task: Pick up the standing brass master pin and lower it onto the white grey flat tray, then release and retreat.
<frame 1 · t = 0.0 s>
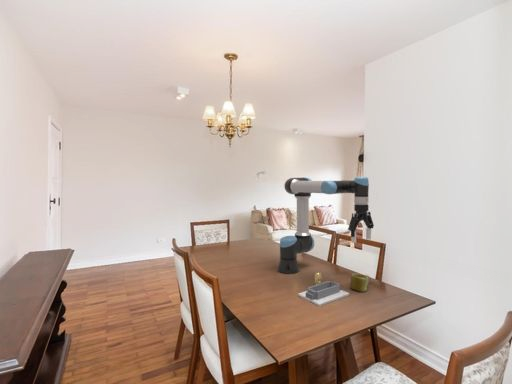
hand: (361, 240, 160), 28 cm above the table, fingers open, 13 cm apart
mug: (361, 289, 161), on the table
master pin: (318, 286, 166), on the table
white grey flat tray: (323, 295, 153), on the table
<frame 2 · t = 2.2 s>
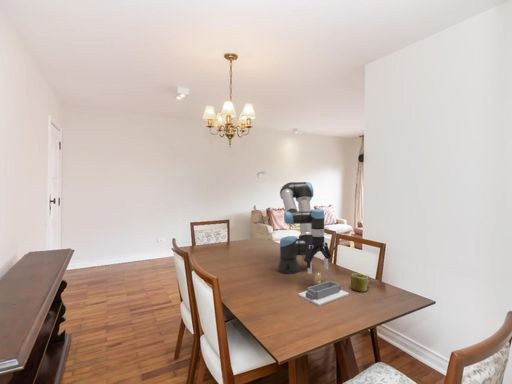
hand: (318, 271, 165), 9 cm above the table, fingers open, 13 cm apart
nothing on the table moved.
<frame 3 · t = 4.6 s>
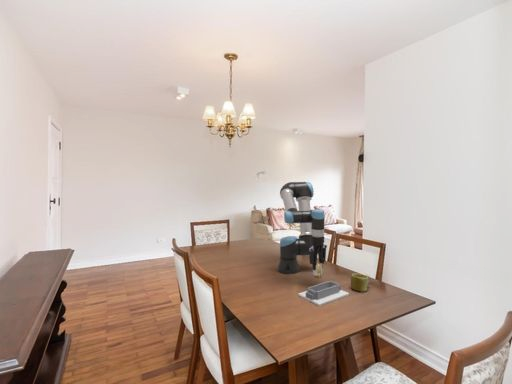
hand: (317, 274, 166), 7 cm above the table, fingers closed on master pin, 3 cm apart
master pin: (317, 276, 166), point 5 cm above the table, touching gripper
everything else where it was.
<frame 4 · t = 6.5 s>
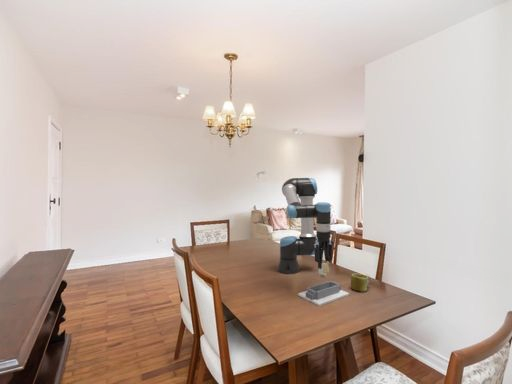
hand: (323, 273, 152), 12 cm above the table, fingers closed on master pin, 3 cm apart
master pin: (324, 276, 152), point 11 cm above the table, touching gripper
everything else where it was.
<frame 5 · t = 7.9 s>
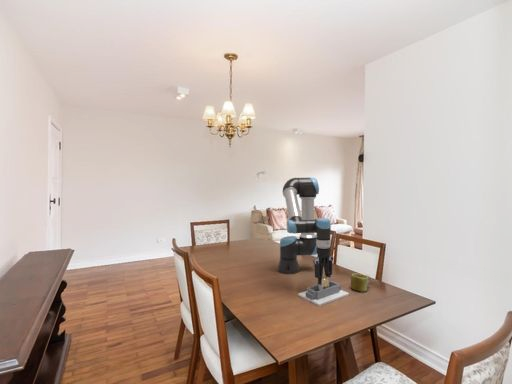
hand: (323, 289, 153), 3 cm above the table, fingers closed on master pin, 3 cm apart
master pin: (323, 292, 153), point 2 cm above the table, touching gripper
everything else where it was.
when the fingers open (2 cm above the table, at t = 8.4 s): master pin stays where it is, resting on white grey flat tray.
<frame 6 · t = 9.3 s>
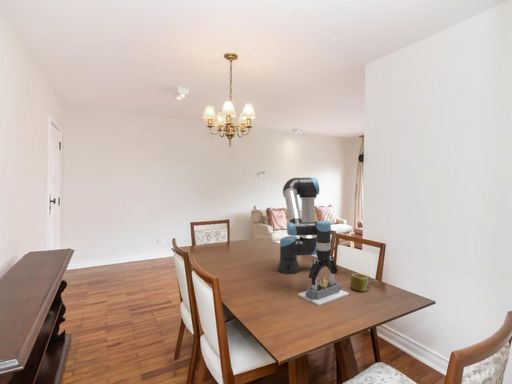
hand: (323, 287, 153), 4 cm above the table, fingers open, 13 cm apart
master pin: (323, 293, 153), point 1 cm above the table, touching white grey flat tray
everything else where it was.
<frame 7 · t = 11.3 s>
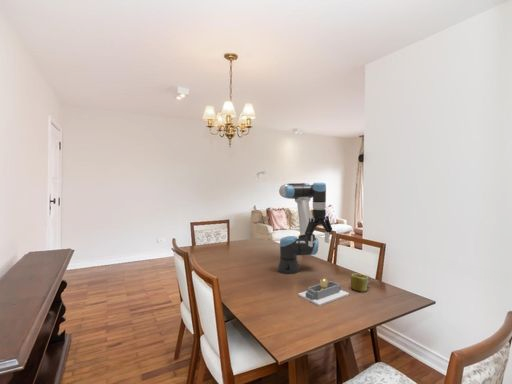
hand: (318, 244, 165), 25 cm above the table, fingers open, 13 cm apart
nothing on the table moved.
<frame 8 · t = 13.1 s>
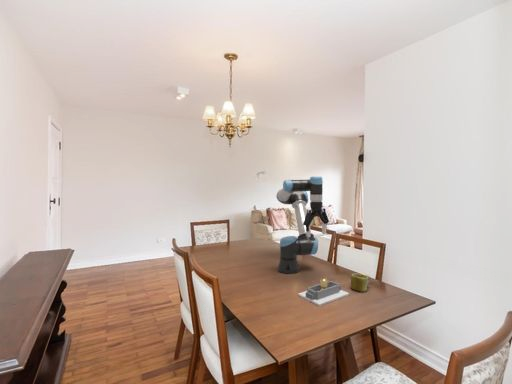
hand: (316, 235, 174), 29 cm above the table, fingers open, 13 cm apart
nothing on the table moved.
at the end: master pin inside the target area on the white grey flat tray (0.1 cm from its centre), point 1.0 cm above the white grey flat tray's base; master pin tilted 0°; the gripper is holding nothing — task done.
